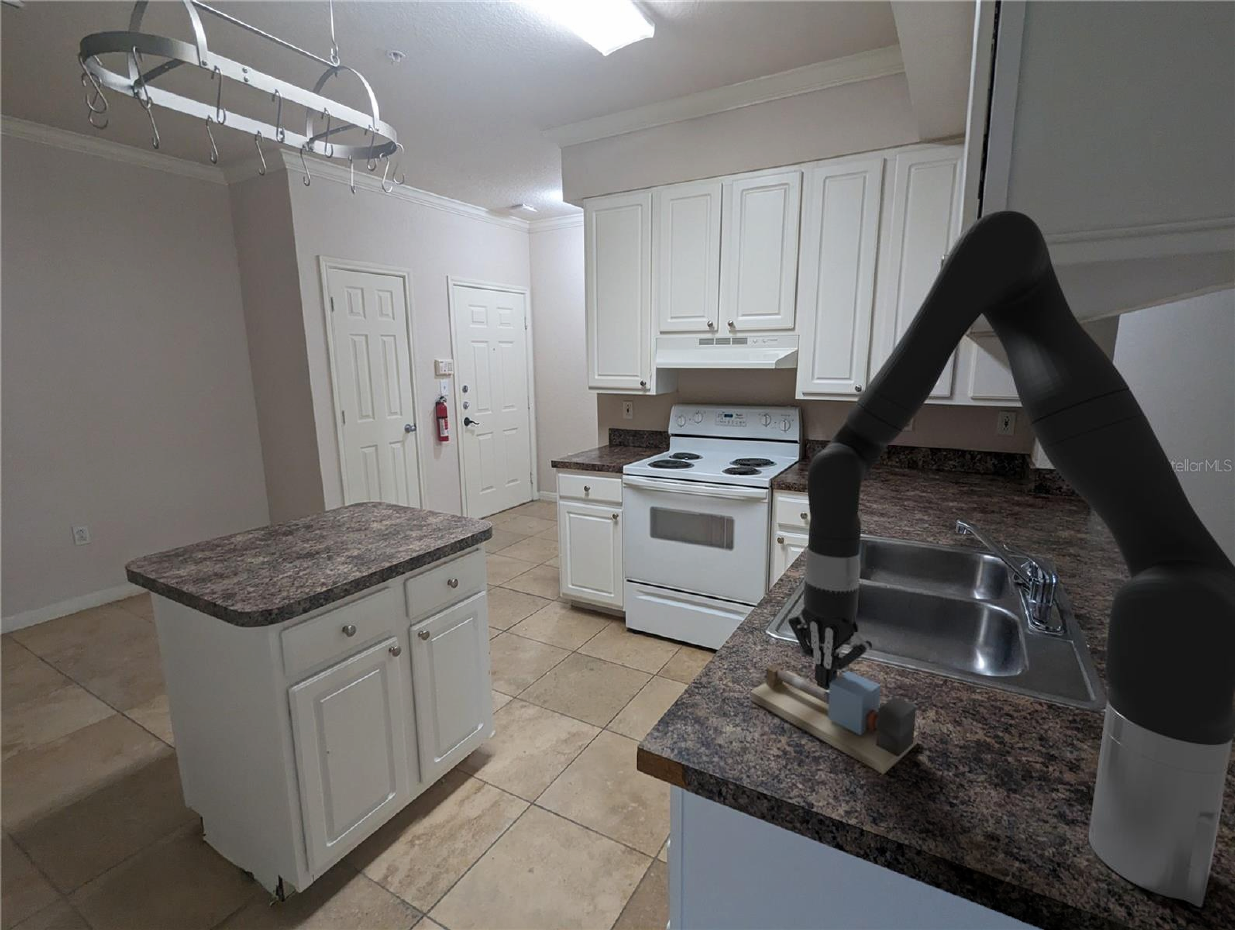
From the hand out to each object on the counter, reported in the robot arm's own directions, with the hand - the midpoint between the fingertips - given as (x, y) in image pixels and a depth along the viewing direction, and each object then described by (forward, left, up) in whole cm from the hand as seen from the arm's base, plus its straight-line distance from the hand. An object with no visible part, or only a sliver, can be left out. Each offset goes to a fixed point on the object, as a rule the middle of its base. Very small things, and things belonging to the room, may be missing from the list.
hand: (825, 686), depth 84 cm
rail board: (-1, 0, -5) cm, 5 cm away
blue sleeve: (-5, 0, -3) cm, 6 cm away
